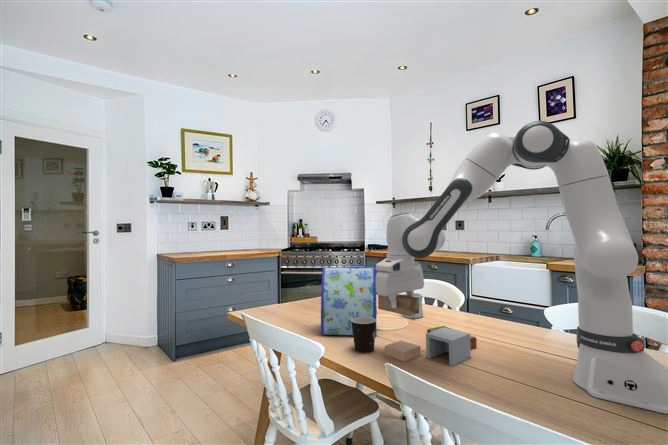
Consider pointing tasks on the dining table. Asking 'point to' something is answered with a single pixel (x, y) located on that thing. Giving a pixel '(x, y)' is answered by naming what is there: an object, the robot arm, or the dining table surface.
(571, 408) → the dining table surface
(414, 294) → the mug
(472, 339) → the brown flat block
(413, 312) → the block
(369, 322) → the coffee mug
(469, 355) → the grey tunnel block
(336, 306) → the lunch bag
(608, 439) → the dining table surface
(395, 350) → the stand
